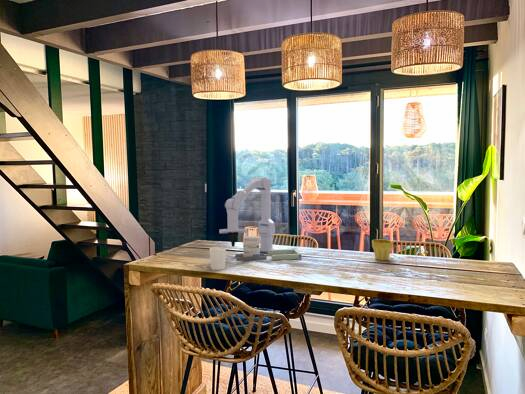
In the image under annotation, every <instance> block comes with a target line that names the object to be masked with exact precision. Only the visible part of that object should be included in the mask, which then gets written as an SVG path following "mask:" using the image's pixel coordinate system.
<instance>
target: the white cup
mask: <svg viewBox="0 0 525 394" xmlns="http://www.w3.org/2000/svg"><path fill="white" fill-rule="evenodd" d="M209 259H210V262H209V263H210V269H211V270H212V271H213V270H214V271H220V270H221V271H222V270H224V269H225V268H226V247H225V246H213V247H212V246H211V247H210V248H209Z"/></svg>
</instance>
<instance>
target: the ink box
mask: <svg viewBox="0 0 525 394" xmlns="http://www.w3.org/2000/svg"><path fill="white" fill-rule="evenodd" d="M242 243H243V244H242V245H243V246H242V248H243V250H242V251H243V252H242V254H243V257H254V256H260V253H261V251H260V235H256V236H254V235H253V236H252V235H250V236H249V235H248V236H247V235H244V236H243V239H242Z"/></svg>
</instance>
